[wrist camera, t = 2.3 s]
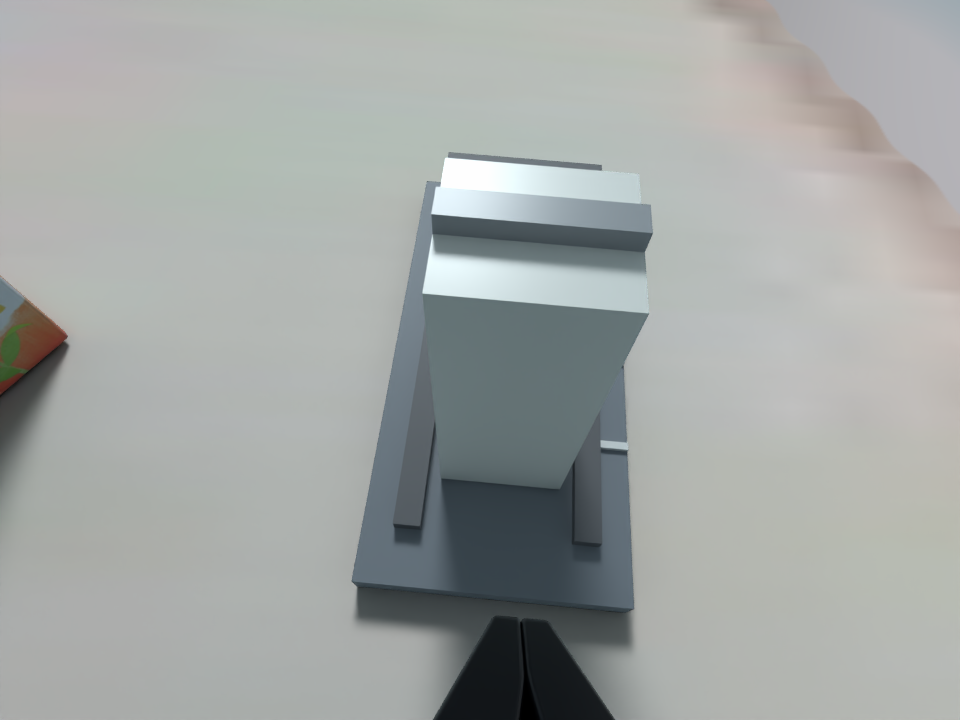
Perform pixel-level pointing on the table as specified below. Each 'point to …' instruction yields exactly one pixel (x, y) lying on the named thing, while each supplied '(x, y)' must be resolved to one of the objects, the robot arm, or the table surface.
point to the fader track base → (490, 492)
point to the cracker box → (23, 335)
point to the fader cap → (529, 312)
